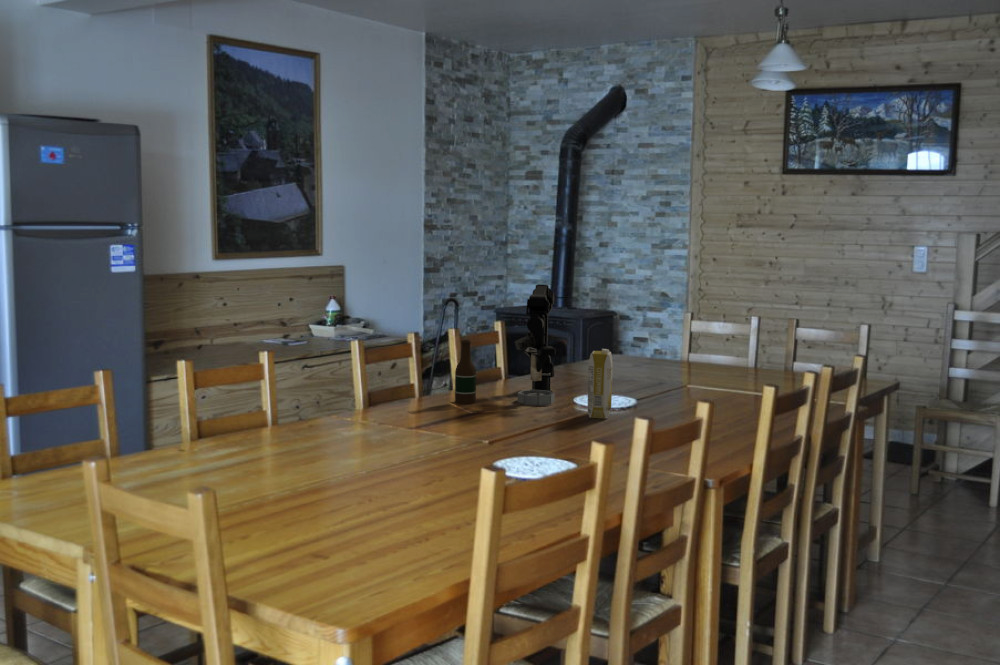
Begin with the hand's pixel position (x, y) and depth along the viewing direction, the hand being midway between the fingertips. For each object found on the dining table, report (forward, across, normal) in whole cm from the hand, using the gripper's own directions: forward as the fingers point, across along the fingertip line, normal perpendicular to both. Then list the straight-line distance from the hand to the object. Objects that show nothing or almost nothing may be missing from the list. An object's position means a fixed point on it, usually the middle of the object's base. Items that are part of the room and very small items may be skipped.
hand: (536, 371), depth 369 cm
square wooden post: (+3, 0, 0) cm, 3 cm away
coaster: (+12, -12, -10) cm, 20 cm away
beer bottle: (+12, -9, -25) cm, 29 cm away
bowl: (+12, 0, 0) cm, 12 cm away
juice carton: (+12, +30, +9) cm, 34 cm away
